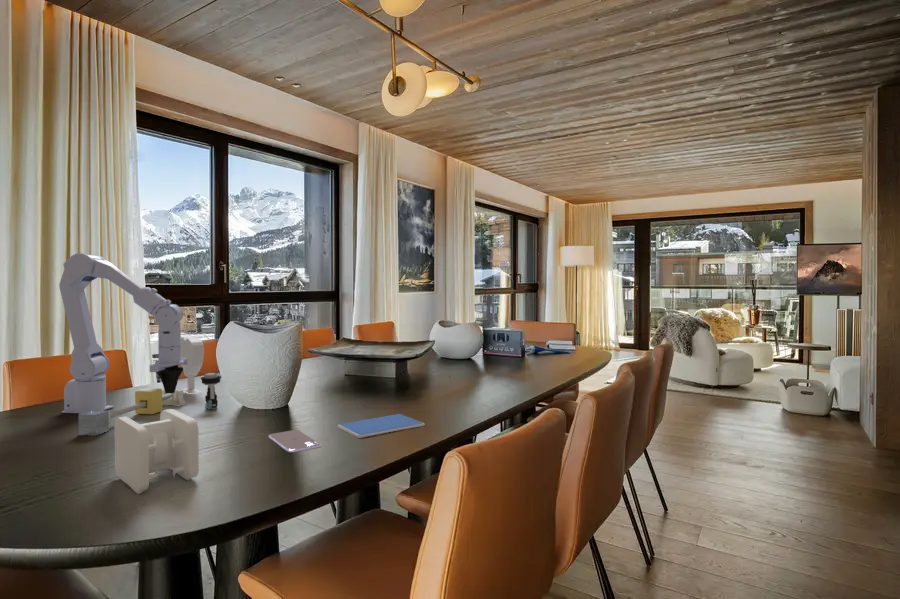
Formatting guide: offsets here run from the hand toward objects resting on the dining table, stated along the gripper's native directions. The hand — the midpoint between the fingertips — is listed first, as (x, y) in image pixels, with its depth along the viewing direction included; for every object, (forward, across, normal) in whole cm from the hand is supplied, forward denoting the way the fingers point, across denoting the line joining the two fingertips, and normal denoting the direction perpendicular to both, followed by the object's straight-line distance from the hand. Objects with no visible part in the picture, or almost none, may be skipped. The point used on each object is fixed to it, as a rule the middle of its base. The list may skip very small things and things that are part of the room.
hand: (170, 392), depth 149 cm
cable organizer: (+5, -50, -32) cm, 60 cm away
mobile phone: (+5, -25, -48) cm, 55 cm away
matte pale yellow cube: (+4, -7, +2) cm, 8 cm away
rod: (+2, -10, +2) cm, 11 cm away
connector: (+4, -26, +2) cm, 26 cm away
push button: (+4, +1, -12) cm, 13 cm away
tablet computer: (+5, -10, -65) cm, 66 cm away
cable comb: (+4, +3, +2) cm, 5 cm away
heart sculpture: (+4, +22, +8) cm, 23 cm away
